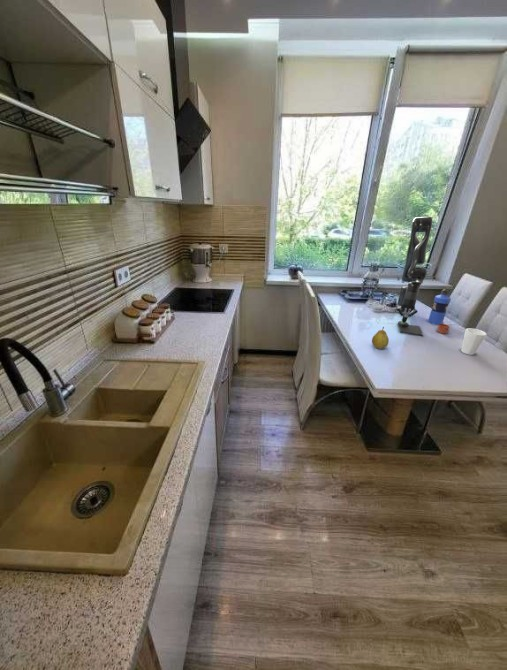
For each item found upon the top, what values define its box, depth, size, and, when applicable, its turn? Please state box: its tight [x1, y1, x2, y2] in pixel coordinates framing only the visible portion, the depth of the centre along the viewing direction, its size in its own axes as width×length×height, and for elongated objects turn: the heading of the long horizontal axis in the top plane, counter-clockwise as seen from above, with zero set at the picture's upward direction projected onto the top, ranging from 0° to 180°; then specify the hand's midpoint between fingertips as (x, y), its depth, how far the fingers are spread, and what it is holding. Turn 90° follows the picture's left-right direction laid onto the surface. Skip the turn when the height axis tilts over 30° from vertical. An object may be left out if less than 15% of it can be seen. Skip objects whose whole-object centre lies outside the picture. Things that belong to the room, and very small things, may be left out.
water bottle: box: [427, 288, 452, 326], centre depth 195 cm, size 9×9×25 cm
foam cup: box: [461, 327, 488, 356], centre depth 156 cm, size 10×9×13 cm
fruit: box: [371, 326, 390, 350], centre depth 159 cm, size 9×9×12 cm
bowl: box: [436, 323, 451, 335], centre depth 183 cm, size 6×6×5 cm
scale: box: [397, 320, 423, 337], centre depth 186 cm, size 16×14×2 cm
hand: (403, 321), depth 190 cm, fingers closed
